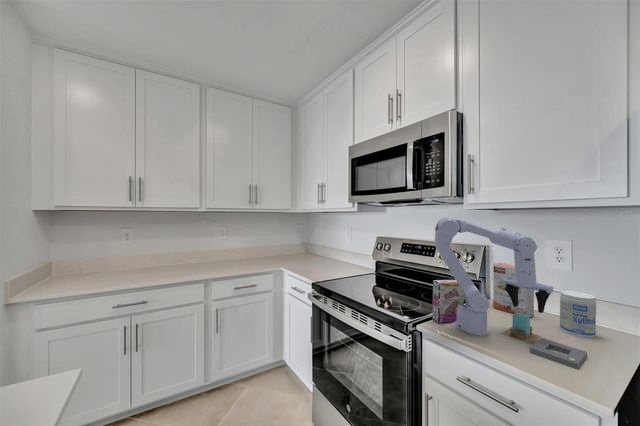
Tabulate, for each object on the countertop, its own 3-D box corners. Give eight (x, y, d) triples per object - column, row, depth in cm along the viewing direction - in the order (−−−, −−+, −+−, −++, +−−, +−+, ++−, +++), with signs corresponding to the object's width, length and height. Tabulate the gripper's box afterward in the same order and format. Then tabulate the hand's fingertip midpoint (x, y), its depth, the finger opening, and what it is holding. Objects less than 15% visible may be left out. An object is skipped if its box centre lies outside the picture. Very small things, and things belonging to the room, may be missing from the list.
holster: (501, 336, 96) (501, 326, 96) (511, 329, 102) (511, 320, 102) (532, 346, 89) (532, 336, 89) (541, 338, 94) (541, 329, 94)
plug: (512, 334, 96) (512, 314, 96) (516, 331, 98) (516, 312, 98) (526, 338, 93) (526, 318, 93) (530, 335, 95) (530, 315, 95)
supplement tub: (576, 340, 93) (576, 298, 93) (552, 328, 103) (553, 290, 103) (604, 340, 93) (604, 298, 93) (578, 328, 103) (578, 290, 103)
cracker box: (492, 308, 124) (492, 263, 124) (500, 306, 127) (500, 262, 126) (526, 319, 111) (526, 269, 111) (534, 317, 114) (534, 268, 114)
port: (529, 355, 83) (529, 346, 83) (541, 345, 90) (541, 336, 90) (578, 372, 75) (578, 362, 75) (587, 359, 81) (587, 350, 81)
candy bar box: (438, 324, 107) (438, 283, 107) (432, 319, 112) (432, 279, 112) (464, 322, 108) (464, 282, 108) (456, 317, 113) (457, 279, 113)
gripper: (556, 271, 90) (559, 312, 89) (508, 266, 102) (511, 301, 102) (546, 275, 86) (549, 317, 86) (498, 268, 99) (501, 305, 99)
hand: (528, 309), depth 94 cm, fingers open, 7 cm apart
